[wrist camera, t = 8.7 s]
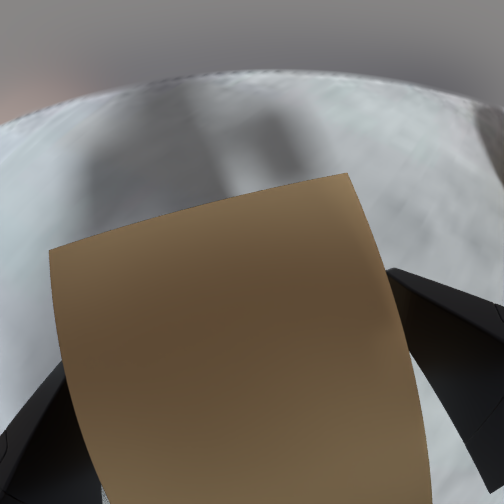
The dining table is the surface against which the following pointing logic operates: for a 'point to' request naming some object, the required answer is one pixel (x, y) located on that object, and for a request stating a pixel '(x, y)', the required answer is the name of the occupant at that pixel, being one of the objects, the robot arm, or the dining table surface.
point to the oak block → (242, 355)
